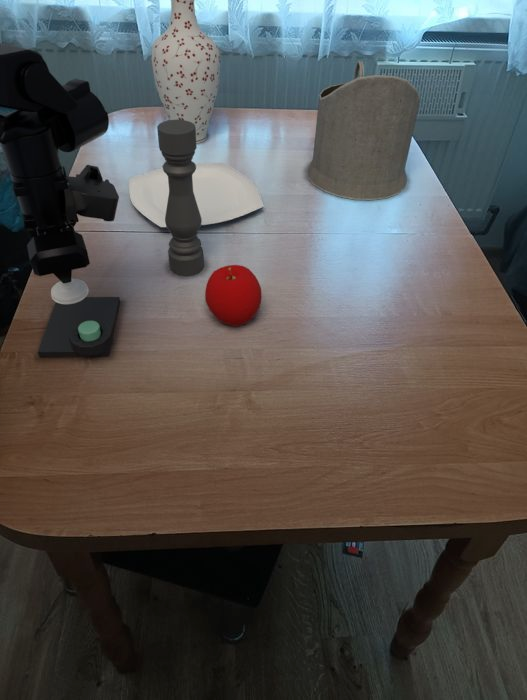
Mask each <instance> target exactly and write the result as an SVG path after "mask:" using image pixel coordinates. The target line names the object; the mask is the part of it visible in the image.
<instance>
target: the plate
mask: <svg viewBox="0 0 527 700" xmlns="http://www.w3.org/2000/svg"><path fill="white" fill-rule="evenodd" d="M194 163H195V165H196V170H195V172H194V173H193V175H192V181H193V192H194V196H195V199H196V202H197V206H198V209H199V212H200V215H201V219H202V223H201V226H200V227H205V226H212V225H218V224H222V223H225V222H229V221H233V220H235V219H239V218H242V217H244V216H246V215H250V214H251V213H254V212H256V211H258V210H260V209H263V208H264V203H263V199H262V196H261V193H260V191H259V189H258V187H257V186H256V184H255V183H254V181H253V180H252V179H250V178H249V177H248V176H246V175H245V174H243V173H242V172H240V170H239V171H238V170H237V169H235V168H233V167H232V166H230V165H228V164H226V163H224V162H194ZM128 193H129V198H130V201H131V204H132V205H133V206H134V208H135V209H136V210H137V211H138V212H139V213H140V214H141V215H142V216H144V217H145V218H146V219H147V220H149V221H150V222H151V223H153V224H155V225H156V226H157V227H159V228H160V229H167V226H166V223H165V215H166V209H167V202H168V196H169V183H168V176H167V174H166V173H164V171H163V167H161V168H157V169H153V170H151V171H147V172H144V173H141V174H138V175H135V176H132V177H130V178H129V181H128Z"/></svg>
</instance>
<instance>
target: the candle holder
mask: <svg viewBox="0 0 527 700" xmlns="http://www.w3.org/2000/svg"><path fill="white" fill-rule="evenodd" d="M156 130H157V139H158V149H159V151H160V152H161V155H162V157H163V158H164V160H165V162H164V163H163V164H162V168H163V171H164V173H166V174H167V176H168V183H169V196H168V202H167V209H166V215H165V223H166V226H167V228H166V229H167V231H168V232H169V233H170V235H171V238H170V240H169V242H168V247H169V248H168V250H167V254H168V255H167V257H168V262H169V263H168V264H169V269H170V271H171V273H172V274H174V275H177V276H179V277H192V276H193V277H194V276H196V275H199V274H200V273H201V272H203V270H204V268H205V257H204V256H205V255H204V249H203V247H202V245H203V244H202V241H201V238H199V237H198V232H199V230H200V228H201V227H202V226H201V223H202V219H201V215H200V212H199V209H198V206H197V202H196V199H195V196H194V192H193V181H192V175H193V173H194V172H195V170H196V165H195V163H196V162H194V161H193V159H194V156H195V154H196V150H197V148H198V147H197V144H196V127H195V125H194V124H193V123H191V122H189V121H185V120H168V119H167V120H164V121H162V122H160V123H158V125H157V126H156Z"/></svg>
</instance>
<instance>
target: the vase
mask: <svg viewBox="0 0 527 700" xmlns="http://www.w3.org/2000/svg"><path fill="white" fill-rule="evenodd" d="M170 7H171V9H170V10H171V13H170V18H169V19H170V20H169V24H168V26H167V28H166V30H165V31H164V32H163V33H162V34H160V35H159V36H158V37H157V38H156V39H155V40H154V42H153V44H152V46H151V56H150V57H151V59H150V60H151V61H150V62H151V67H152V73H153V79H154V85H155V88H156V89H155V90H156V91H157V95H158V96H159V99H160V102H161V104H162V107H163V110H164V112H165V115H166V117H167V121H168V120H185V121H189V122H191V123H193V124H194V125H195V127H196V145H198V144H201V143H203V142H205V141H206V140H207V138H208V136H207V134H208V129H209V126H210V121H211V118H212V115H213V111H214V107H215V103H216V99H217V96H218V93H219V88H220V77H221V76H220V75H221V57H220V49H219V48H218V45H217V44H216V42H215V40H214V39H213V38H212V37H210V35H208V34H206V33H205V32H204V31H203V30H202V29H201V28H200V25H199V23H198V20H197V16H196V12H195V11H196V9H195V8H196V7H195V0H170Z"/></svg>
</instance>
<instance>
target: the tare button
mask: <svg viewBox="0 0 527 700" xmlns="http://www.w3.org/2000/svg"><path fill="white" fill-rule="evenodd" d="M78 331H79V335H80V338H81V339H82V340H83V341H93V340H96V339H98V338H99V337H100V335H101V331H100V326H99V324H98V323H97V322H95V321H85V322H83V323H81V324H80V325H79V327H78Z"/></svg>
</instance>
